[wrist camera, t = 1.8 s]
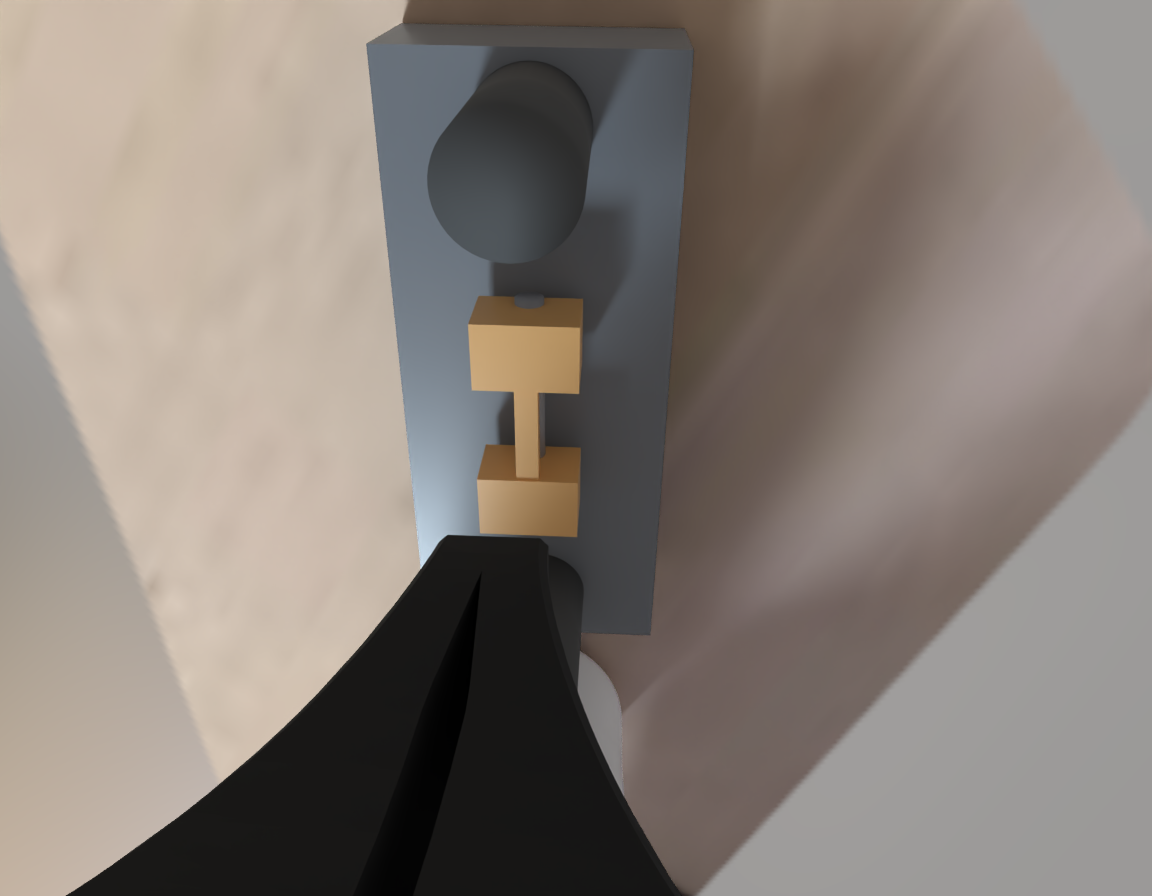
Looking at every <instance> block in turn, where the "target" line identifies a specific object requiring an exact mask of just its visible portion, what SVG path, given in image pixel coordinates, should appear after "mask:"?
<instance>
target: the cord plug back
mask: <svg viewBox="0 0 1152 896" xmlns="http://www.w3.org/2000/svg"><path fill="white" fill-rule="evenodd" d="M549 589H550V594H551V600H552V605H553V610H554V615H555V619H556V623H557V627H558V631H559V634H560V638H561V641H562V645H563V648H564V652H565V655H566V659H567V662H568V665H569V668H570V671H571V674H572V677H573V680H574V683H575V686H576V688H577V691H578V675H579V659H580V644H581V628H582V612H583V596H584V587H583V582H582V580H581V578H580V576H579V574H578V573H577V572H576V570H575V569H574V568H573V567H572V566H571V565H569V564H568V563H567V562H565V561H563V560H561V559H559V558H557V557H554V556H551V555H549Z"/></svg>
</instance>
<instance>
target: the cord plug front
mask: <svg viewBox="0 0 1152 896" xmlns="http://www.w3.org/2000/svg"><path fill="white" fill-rule="evenodd" d="M592 138H593V119H592V113H591V109H590V106H589V103H588V101H587V99H586V97H585V95H584V93H583V92H582V90H581V88H580V87H579V86H578V85H577V83H576V82H575V81H574V80H573V79H572V78H571V77H570V76H569V75H567V74H566V73H565V72H563V71H562V70H560V69H558V68H556V67H554V66H552V65H549V64H547V63H543V62H539V61H518V62H514V63H510V64H507V65H505V66H503V67H501V68H499V69H497V70H496V71H494V72H493V73H491V74H490V75H489V76H488V77H487V78H486V79H485V80H484V81H483V82H482V84H481V85H480V86H479V87H478V89H477V90H476V91H475V92H474V94H473V95H472V96H471V97H470V99H469V100H468V101H467V102H466V104H465V105H464V106H463V108H462V109H461V110H460V111H459V113H458V114H457V115H456V116H455V118H454V119H453V120H452V121H451V123H450V124H449V125H448V126H447V128H446V129H445V130H444V132H443V133H442V134H441V135H440V137H439V139H438V140H437V142H436V144H435V146H434V148H433V151H432V153H431V156H430V160H429V164H428V173H427V187H428V194H429V199H430V202H431V206H432V208H433V211H434V213H435V216H436V217H437V219H438V221H439V223H440V224H441V226H442V227H443V229H444V230H445V231H446V233H447V234H448V235H449V236H450V237H451V238H452V239H453V240H454V241H455V242H456V243H457V244H458V245H460V246H461V247H462V248H464V249H465V250H467V251H468V252H470V253H471V254H474V255H476V256H478V257H480V258H483V259H486V260H489V261H493V262H498V263H507V264H513V263H523V262H529V261H532V260H535V259H538V258H541V257H543V256H545V255H547V254H549V253H550V252H552V251H553V250H555V249H556V248H557V247H559V246H560V245H561V244H562V243H563V242H564V241H565V240H566V239H567V238H568V237H569V236H570V234H571V233H572V231H573V230H574V228H575V227H576V225H577V223H578V221H579V219H580V216H581V213H582V210H583V207H584V202H585V196H586V188H587V179H588V171H589V163H590V155H591V147H592Z"/></svg>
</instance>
